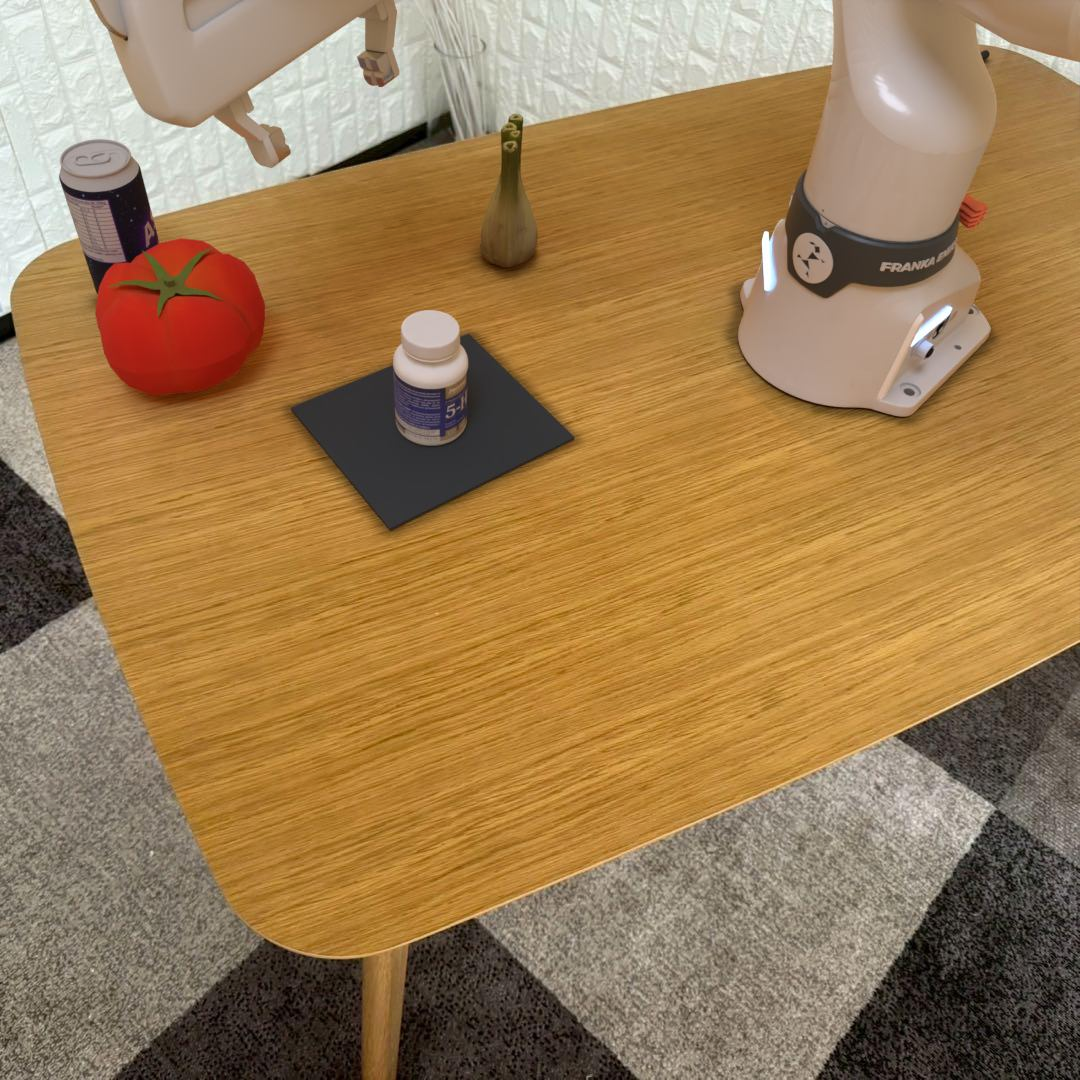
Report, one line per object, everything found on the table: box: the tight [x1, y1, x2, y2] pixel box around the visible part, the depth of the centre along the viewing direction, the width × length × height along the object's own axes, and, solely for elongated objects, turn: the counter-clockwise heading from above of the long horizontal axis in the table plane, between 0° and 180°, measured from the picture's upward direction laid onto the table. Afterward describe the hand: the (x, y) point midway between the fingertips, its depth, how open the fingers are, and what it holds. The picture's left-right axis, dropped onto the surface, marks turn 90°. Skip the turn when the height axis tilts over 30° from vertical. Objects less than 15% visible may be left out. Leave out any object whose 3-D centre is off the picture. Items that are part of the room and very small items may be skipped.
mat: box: [290, 333, 575, 532], centre depth 76 cm, size 16×14×1 cm
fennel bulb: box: [479, 113, 539, 268], centre depth 85 cm, size 6×5×12 cm
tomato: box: [94, 237, 266, 397], centre depth 75 cm, size 13×12×8 cm
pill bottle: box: [392, 309, 468, 446], centre depth 72 cm, size 5×5×9 cm
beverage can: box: [58, 138, 160, 295], centre depth 78 cm, size 6×6×12 cm
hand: (331, 119), depth 61 cm, fingers open, 8 cm apart
